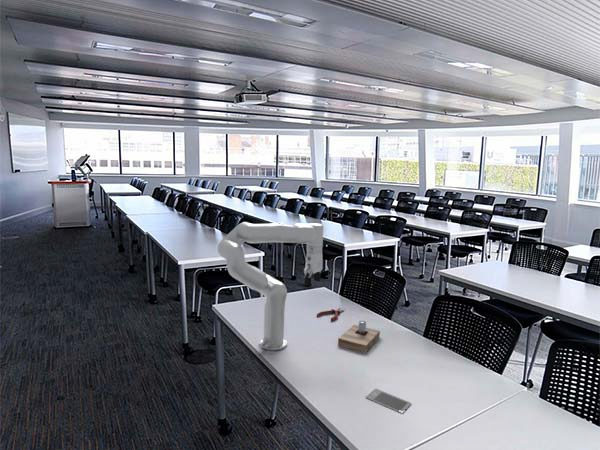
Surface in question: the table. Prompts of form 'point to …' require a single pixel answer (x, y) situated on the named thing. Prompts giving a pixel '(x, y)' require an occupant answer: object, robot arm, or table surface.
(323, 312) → the pliers
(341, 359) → the table surface
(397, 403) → the smartphone
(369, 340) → the socket block
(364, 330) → the pin
